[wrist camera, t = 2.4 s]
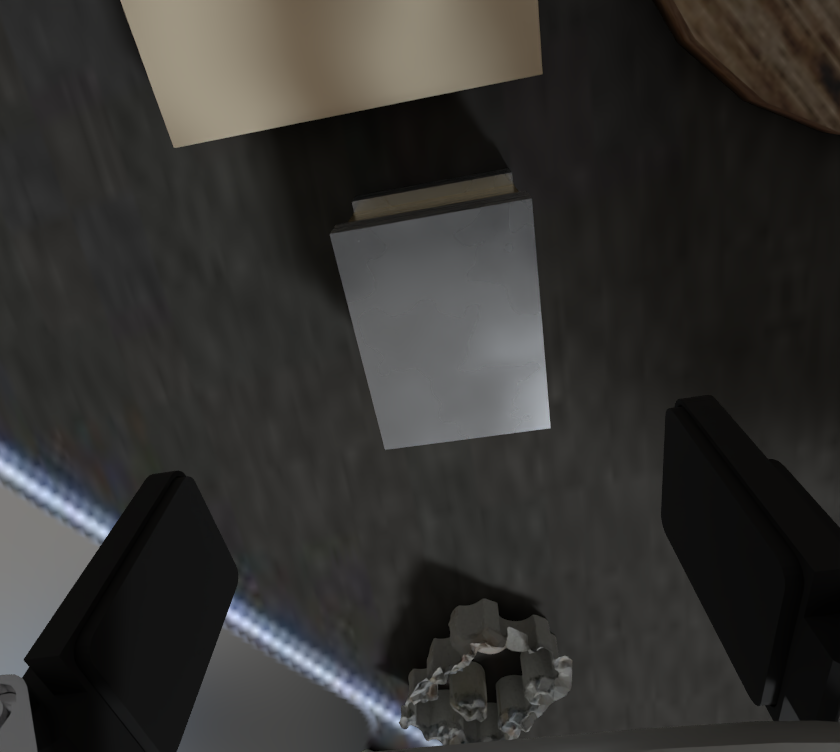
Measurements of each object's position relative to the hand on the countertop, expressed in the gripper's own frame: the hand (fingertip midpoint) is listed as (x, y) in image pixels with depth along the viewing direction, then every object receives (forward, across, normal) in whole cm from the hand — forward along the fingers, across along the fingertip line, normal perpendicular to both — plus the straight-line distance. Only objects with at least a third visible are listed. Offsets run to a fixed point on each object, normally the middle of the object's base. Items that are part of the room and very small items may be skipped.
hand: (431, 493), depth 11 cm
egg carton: (+14, +1, +26) cm, 29 cm away
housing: (+14, -1, +1) cm, 14 cm away
